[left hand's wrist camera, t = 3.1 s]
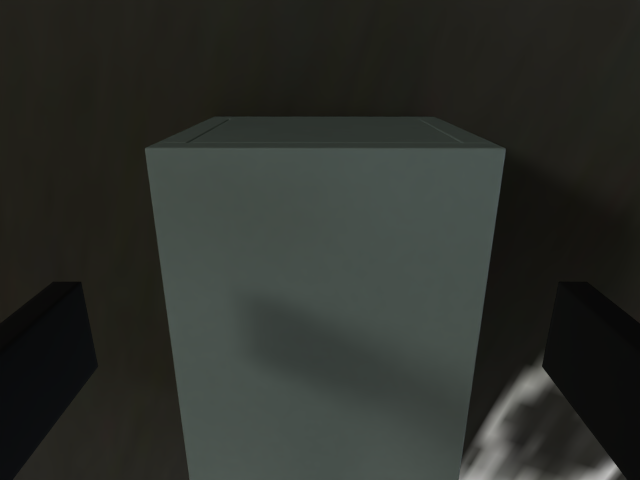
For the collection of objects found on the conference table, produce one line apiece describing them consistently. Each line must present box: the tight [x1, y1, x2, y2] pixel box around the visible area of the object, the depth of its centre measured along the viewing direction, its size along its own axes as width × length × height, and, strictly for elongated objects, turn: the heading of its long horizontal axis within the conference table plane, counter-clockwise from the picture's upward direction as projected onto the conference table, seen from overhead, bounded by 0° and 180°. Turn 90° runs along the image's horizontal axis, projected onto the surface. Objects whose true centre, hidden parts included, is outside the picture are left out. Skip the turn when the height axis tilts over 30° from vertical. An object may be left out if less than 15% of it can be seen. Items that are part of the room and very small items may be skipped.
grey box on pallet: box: [145, 117, 506, 480], centre depth 22 cm, size 17×11×10 cm, turn 0°
